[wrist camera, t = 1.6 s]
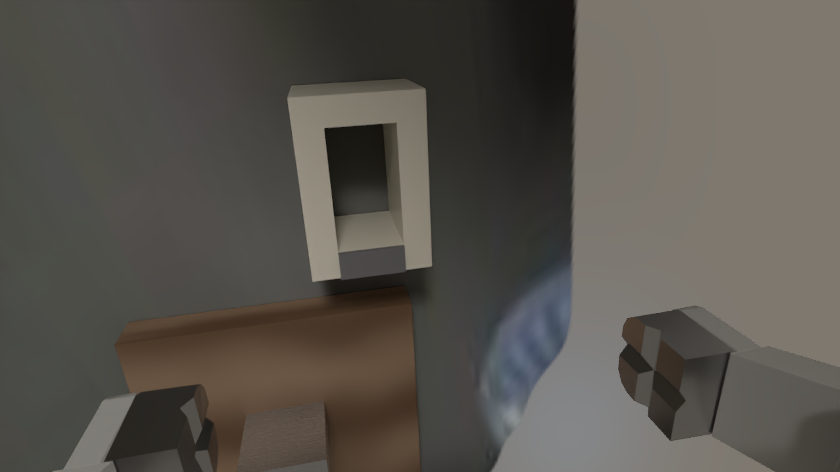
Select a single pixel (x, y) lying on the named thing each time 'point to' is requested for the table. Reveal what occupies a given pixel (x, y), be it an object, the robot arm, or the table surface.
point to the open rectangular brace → (405, 170)
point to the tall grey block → (286, 440)
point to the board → (294, 371)
